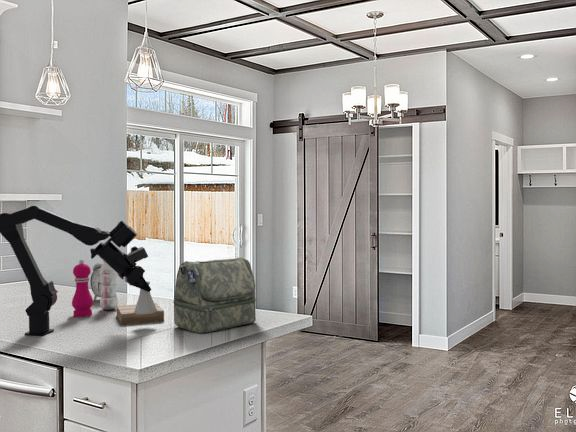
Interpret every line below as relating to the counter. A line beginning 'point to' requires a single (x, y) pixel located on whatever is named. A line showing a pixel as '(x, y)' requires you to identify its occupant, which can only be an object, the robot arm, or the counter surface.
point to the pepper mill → (82, 291)
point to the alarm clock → (96, 280)
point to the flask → (145, 303)
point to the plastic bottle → (108, 287)
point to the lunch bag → (214, 295)
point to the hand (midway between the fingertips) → (149, 290)
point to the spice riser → (138, 315)
